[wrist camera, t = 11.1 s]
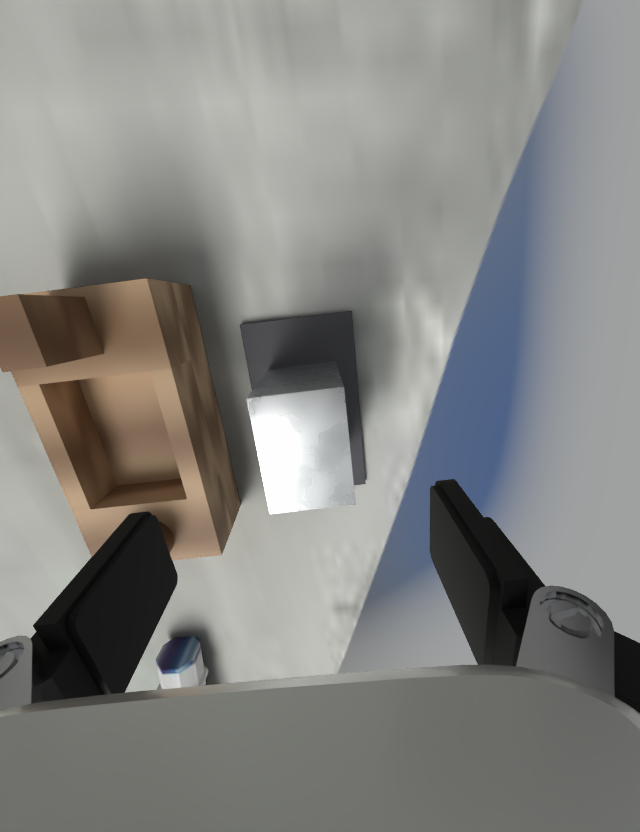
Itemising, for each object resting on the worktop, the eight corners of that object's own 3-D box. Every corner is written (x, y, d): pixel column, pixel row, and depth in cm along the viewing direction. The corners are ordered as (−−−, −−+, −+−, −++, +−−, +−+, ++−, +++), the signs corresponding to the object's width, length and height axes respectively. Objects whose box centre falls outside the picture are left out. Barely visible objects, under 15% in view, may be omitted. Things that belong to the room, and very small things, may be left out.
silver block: (268, 369, 24) (246, 398, 16) (335, 360, 24) (344, 386, 16) (283, 453, 26) (269, 514, 19) (344, 446, 26) (355, 504, 18)
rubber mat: (241, 324, 23) (239, 324, 23) (351, 310, 23) (351, 311, 23) (272, 491, 28) (272, 493, 27) (364, 481, 28) (365, 483, 27)
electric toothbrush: (196, 671, 30) (227, 865, 34) (219, 613, 36) (241, 783, 41) (139, 674, 30) (177, 868, 35) (172, 615, 36) (200, 784, 41)
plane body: (64, 301, 23) (-118, 298, 13) (190, 285, 22) (96, 270, 13) (140, 515, 28) (52, 620, 19) (240, 504, 28) (202, 605, 19)
